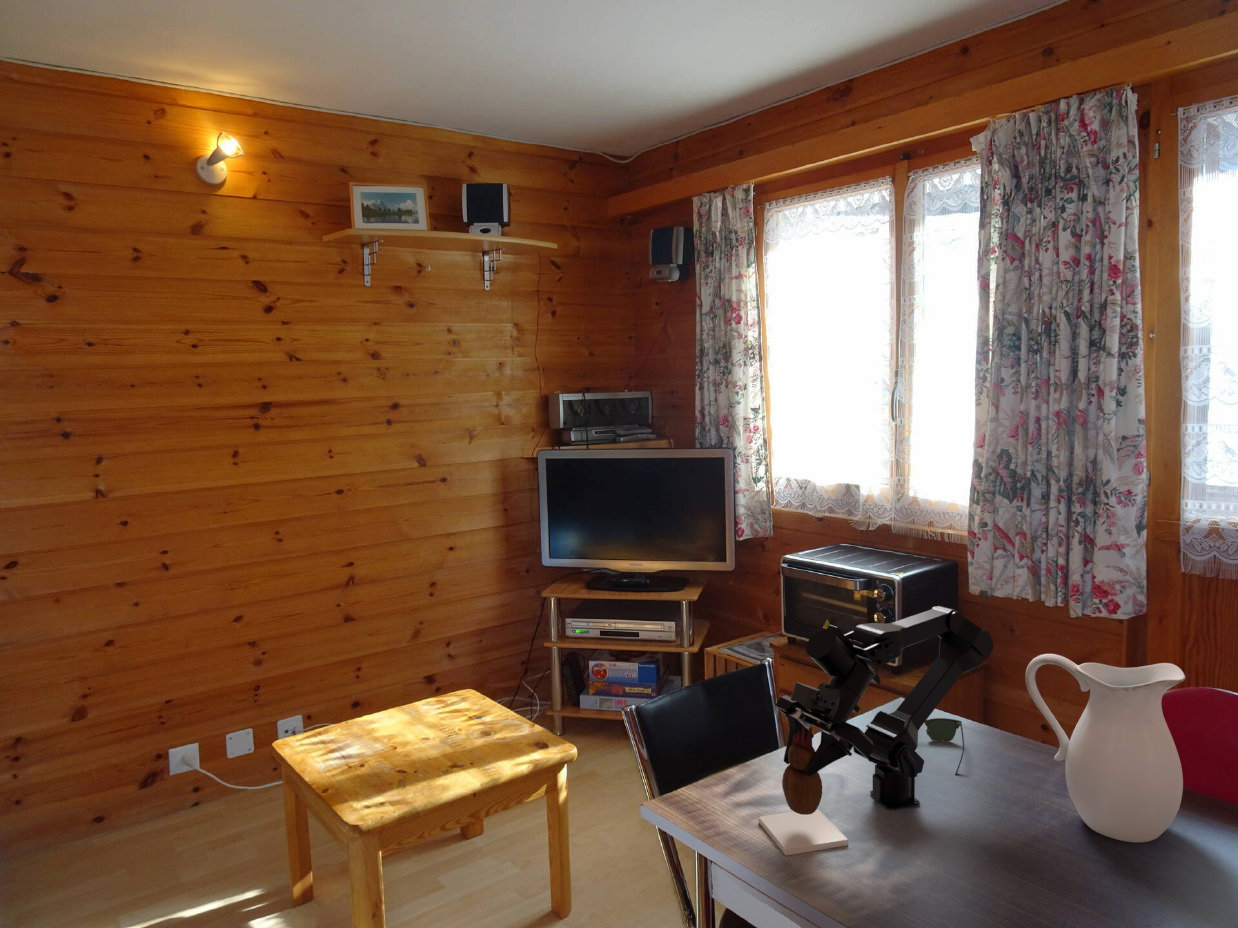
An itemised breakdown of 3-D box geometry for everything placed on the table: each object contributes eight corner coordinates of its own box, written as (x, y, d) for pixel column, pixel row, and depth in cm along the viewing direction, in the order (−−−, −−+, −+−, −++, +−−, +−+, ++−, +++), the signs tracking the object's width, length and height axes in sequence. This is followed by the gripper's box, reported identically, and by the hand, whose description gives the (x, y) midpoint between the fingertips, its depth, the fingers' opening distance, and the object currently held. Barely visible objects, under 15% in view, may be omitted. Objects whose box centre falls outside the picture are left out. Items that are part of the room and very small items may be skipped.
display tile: (817, 813, 153) (817, 807, 153) (848, 844, 142) (848, 839, 142) (758, 822, 150) (758, 816, 150) (785, 855, 140) (785, 849, 140)
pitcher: (1190, 822, 147) (1196, 661, 144) (1168, 865, 134) (1174, 690, 132) (1040, 781, 163) (1042, 636, 160) (1007, 815, 151) (1010, 658, 148)
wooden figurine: (828, 816, 144) (827, 729, 142) (796, 822, 142) (795, 734, 141) (808, 797, 150) (807, 713, 149) (777, 802, 149) (776, 718, 147)
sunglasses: (883, 771, 169) (883, 746, 169) (878, 736, 186) (878, 713, 185) (973, 778, 165) (974, 753, 165) (960, 741, 182) (961, 718, 181)
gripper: (781, 650, 154) (733, 724, 149) (859, 680, 138) (807, 764, 133) (816, 684, 158) (770, 757, 154) (895, 716, 142) (846, 799, 138)
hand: (796, 768), depth 145 cm, fingers closed on wooden figurine, 5 cm apart
